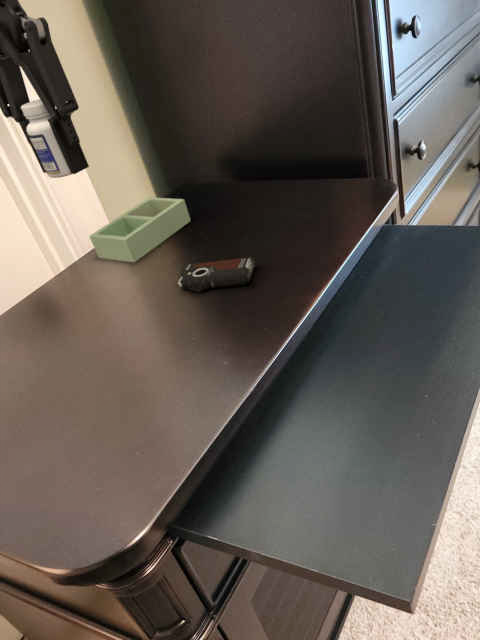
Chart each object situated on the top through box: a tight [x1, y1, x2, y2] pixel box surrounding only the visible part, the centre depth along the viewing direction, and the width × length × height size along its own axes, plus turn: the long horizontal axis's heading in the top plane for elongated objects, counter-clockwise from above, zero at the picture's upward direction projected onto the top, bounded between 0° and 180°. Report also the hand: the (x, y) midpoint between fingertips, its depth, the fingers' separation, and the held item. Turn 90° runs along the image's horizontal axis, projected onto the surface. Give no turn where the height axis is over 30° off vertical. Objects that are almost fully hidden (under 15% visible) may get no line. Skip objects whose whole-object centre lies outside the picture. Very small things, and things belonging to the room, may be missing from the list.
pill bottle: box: [21, 99, 72, 179], centre depth 72 cm, size 5×5×9 cm
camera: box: [177, 256, 256, 293], centre depth 77 cm, size 6×3×11 cm
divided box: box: [89, 196, 192, 263], centre depth 93 cm, size 8×16×4 cm, turn 152°
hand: (65, 169), depth 74 cm, fingers closed on pill bottle, 5 cm apart
